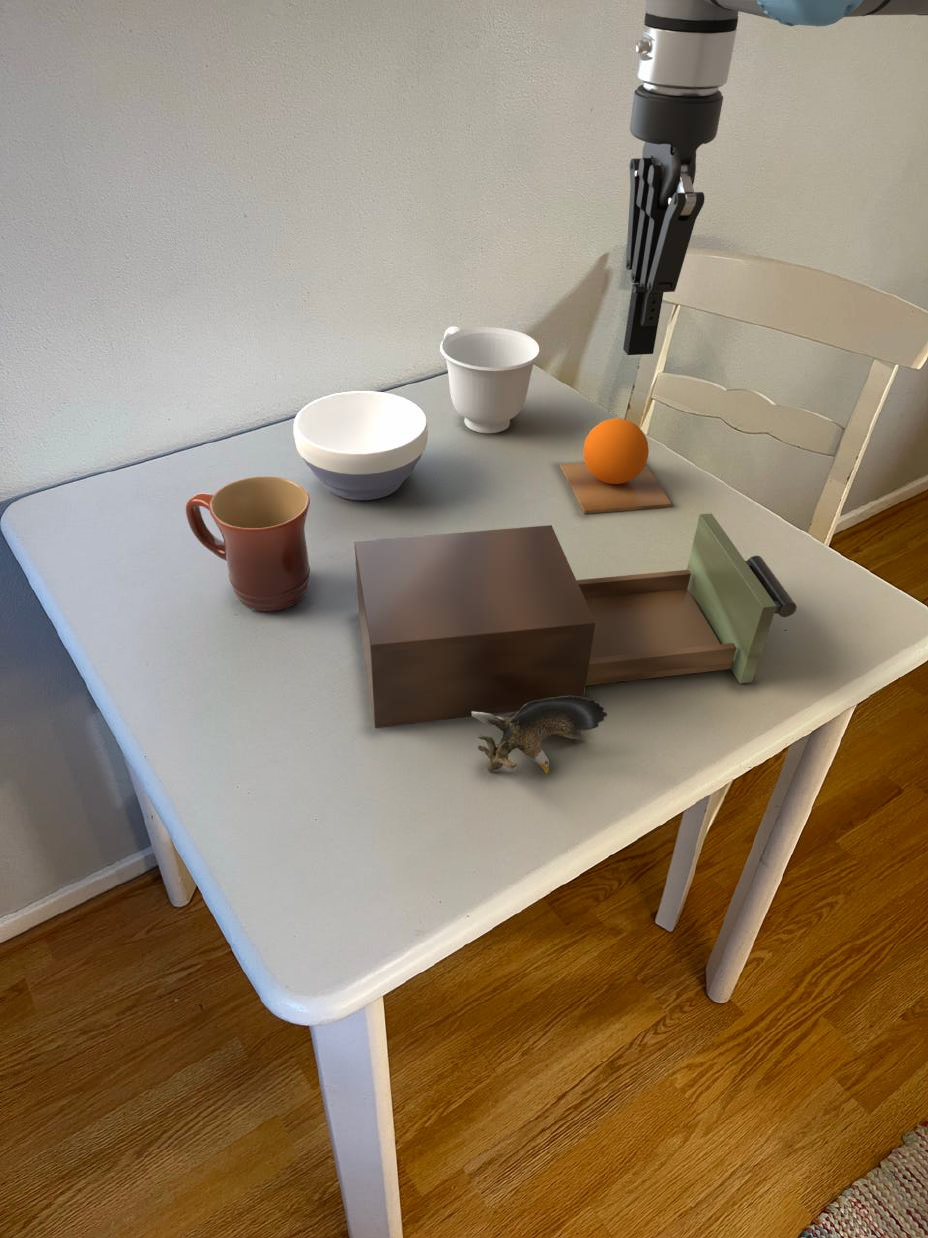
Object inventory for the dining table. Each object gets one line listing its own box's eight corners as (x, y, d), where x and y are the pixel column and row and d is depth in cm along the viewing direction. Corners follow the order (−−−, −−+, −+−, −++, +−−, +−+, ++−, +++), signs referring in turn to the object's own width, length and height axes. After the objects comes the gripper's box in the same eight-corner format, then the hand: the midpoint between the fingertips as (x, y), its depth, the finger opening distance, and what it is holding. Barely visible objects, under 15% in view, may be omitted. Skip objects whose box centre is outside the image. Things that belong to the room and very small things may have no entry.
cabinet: (543, 602, 86) (551, 524, 80) (583, 703, 76) (595, 622, 70) (359, 620, 83) (354, 541, 77) (374, 727, 73) (370, 645, 67)
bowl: (278, 505, 97) (271, 443, 93) (325, 441, 108) (321, 382, 103) (407, 526, 95) (406, 463, 90) (442, 458, 106) (442, 399, 101)
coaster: (671, 506, 99) (671, 503, 99) (584, 513, 98) (584, 510, 97) (641, 460, 107) (641, 457, 106) (560, 466, 105) (560, 463, 105)
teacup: (482, 384, 121) (485, 311, 115) (554, 429, 112) (562, 352, 106) (408, 407, 116) (406, 332, 109) (477, 456, 107) (480, 377, 100)
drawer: (735, 582, 89) (755, 509, 83) (798, 677, 79) (826, 600, 73) (523, 603, 85) (529, 528, 80) (560, 704, 75) (570, 627, 70)
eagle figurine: (537, 811, 66) (623, 740, 69) (494, 731, 63) (586, 662, 67) (486, 787, 72) (567, 723, 76) (447, 714, 70) (532, 652, 74)
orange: (655, 489, 99) (660, 425, 96) (593, 495, 98) (596, 430, 95) (633, 470, 106) (637, 409, 102) (574, 475, 105) (576, 413, 101)
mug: (333, 575, 88) (325, 486, 82) (293, 630, 82) (281, 538, 75) (225, 550, 91) (209, 462, 84) (178, 602, 85) (156, 510, 78)
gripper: (614, 72, 81) (584, 327, 96) (664, 102, 71) (622, 381, 86) (693, 72, 82) (651, 324, 97) (753, 101, 72) (696, 377, 87)
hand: (638, 351), depth 91 cm, fingers closed
